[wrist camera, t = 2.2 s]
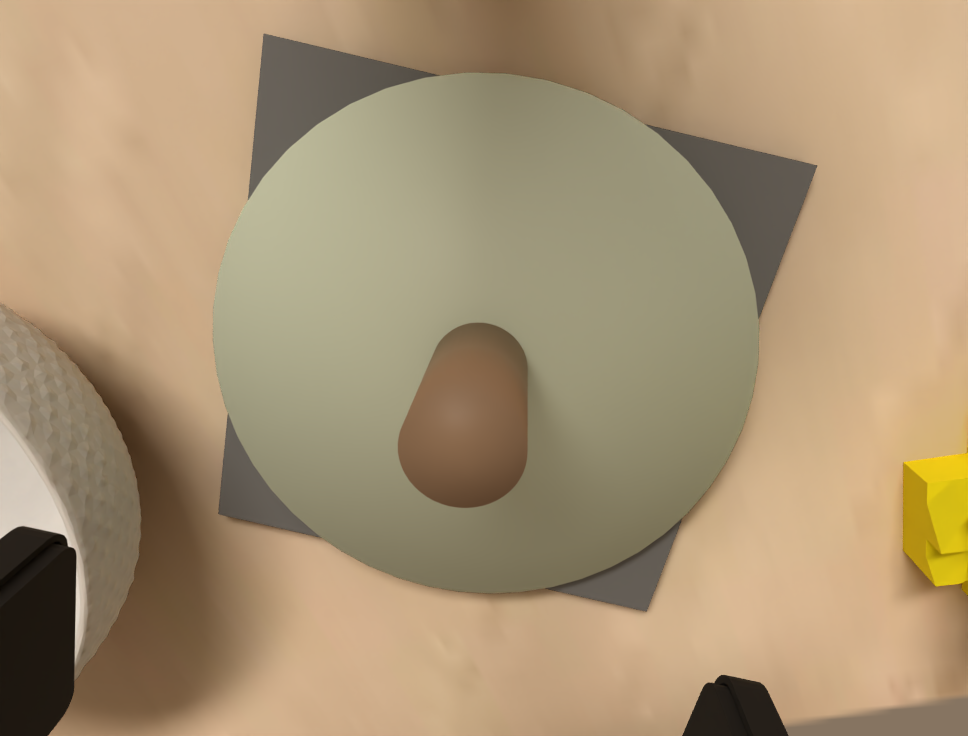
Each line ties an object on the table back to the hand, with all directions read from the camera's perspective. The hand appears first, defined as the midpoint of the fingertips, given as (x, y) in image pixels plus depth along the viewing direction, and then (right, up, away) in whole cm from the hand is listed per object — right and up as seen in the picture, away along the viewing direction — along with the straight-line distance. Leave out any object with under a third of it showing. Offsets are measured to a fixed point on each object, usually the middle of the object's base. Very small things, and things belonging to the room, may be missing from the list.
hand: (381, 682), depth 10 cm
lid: (+1, +5, +13) cm, 14 cm away
